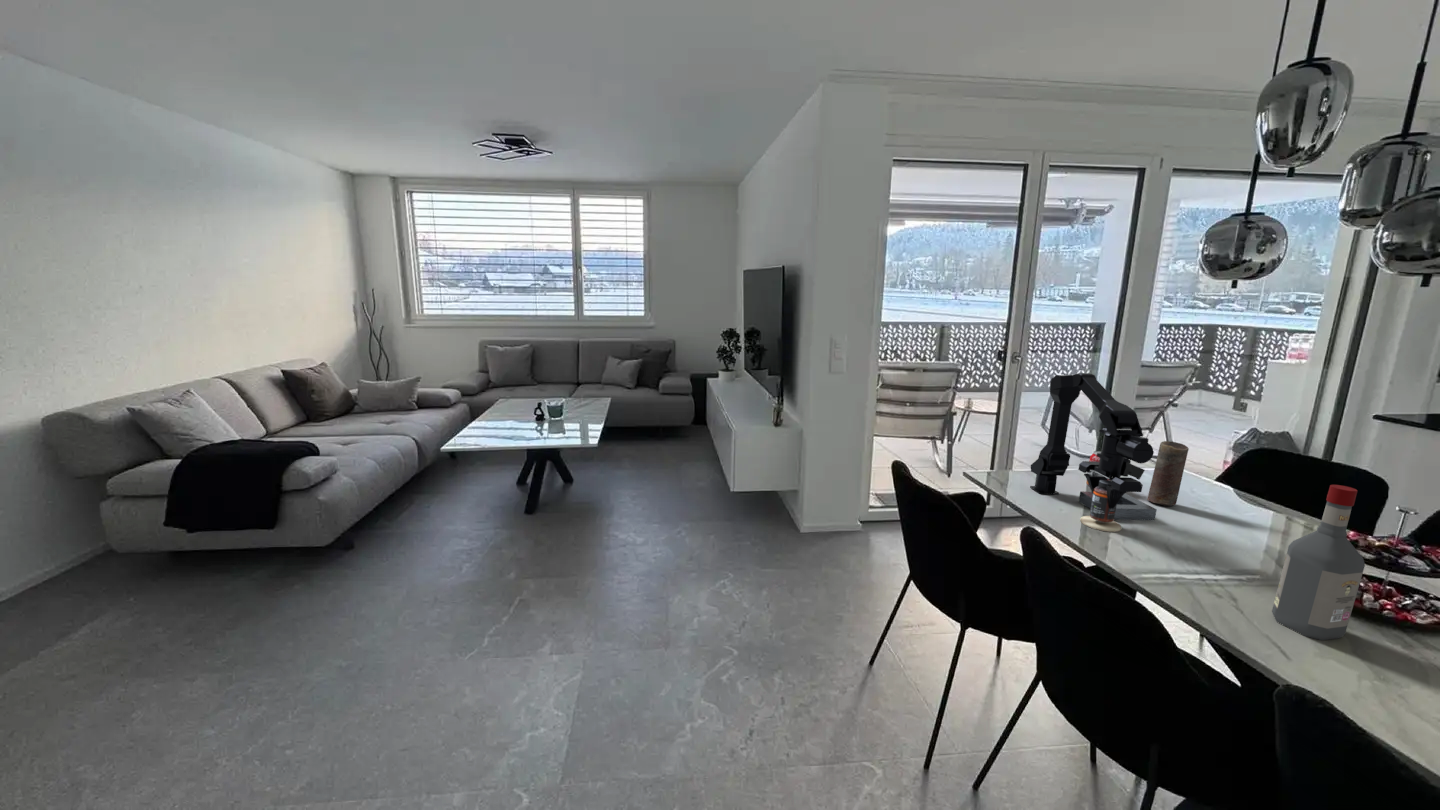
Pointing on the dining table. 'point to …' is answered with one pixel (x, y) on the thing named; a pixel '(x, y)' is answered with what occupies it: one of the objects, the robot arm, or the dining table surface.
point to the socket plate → (1124, 507)
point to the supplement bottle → (1102, 503)
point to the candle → (1168, 473)
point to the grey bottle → (1321, 574)
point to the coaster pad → (1100, 524)
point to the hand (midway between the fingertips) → (1103, 504)
